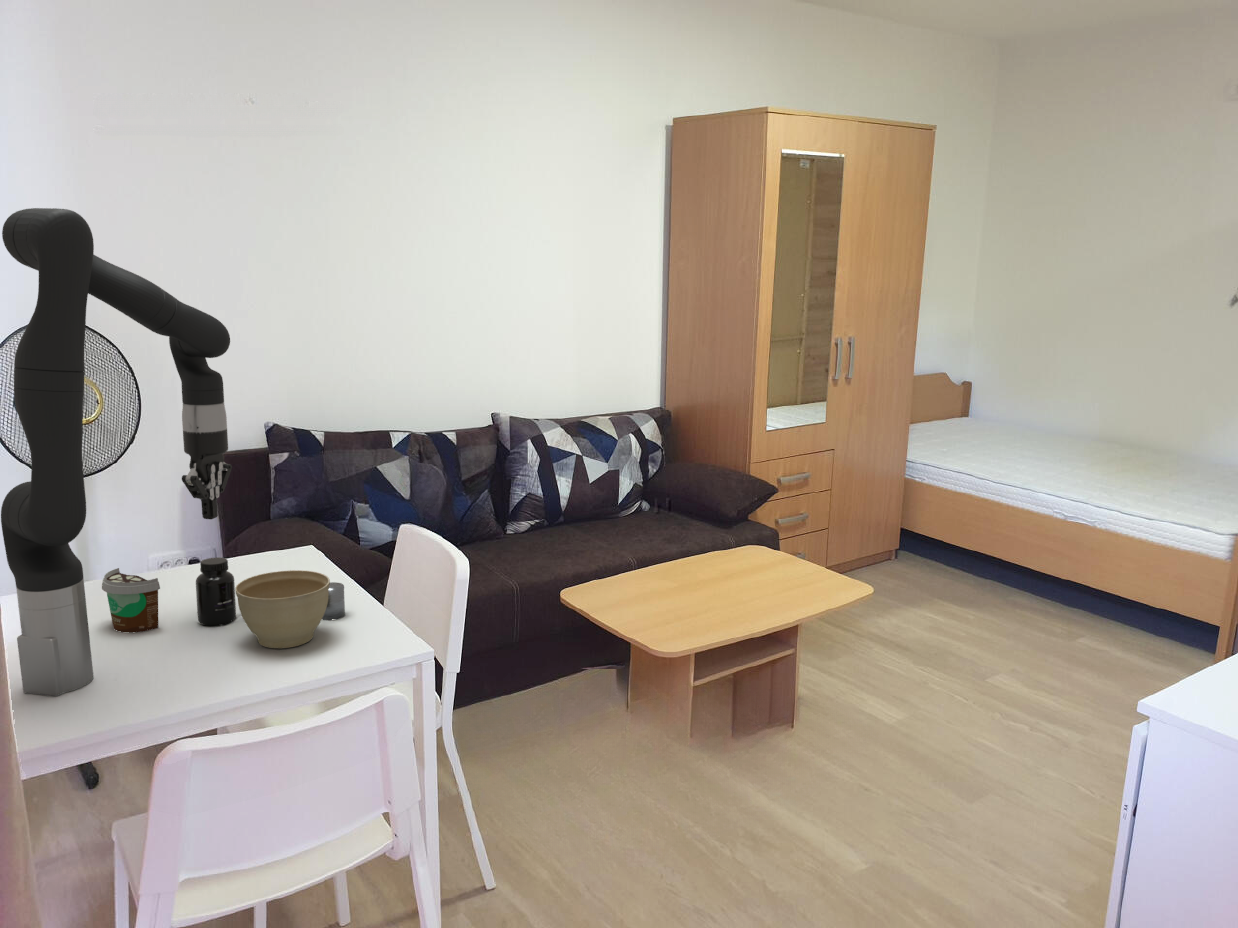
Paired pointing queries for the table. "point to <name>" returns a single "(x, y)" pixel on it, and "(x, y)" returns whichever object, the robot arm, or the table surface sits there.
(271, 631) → the planter bowl
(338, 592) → the dark grey metal cylinder
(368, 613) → the table surface
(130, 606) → the food container
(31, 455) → the robot arm
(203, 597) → the supplement bottle
